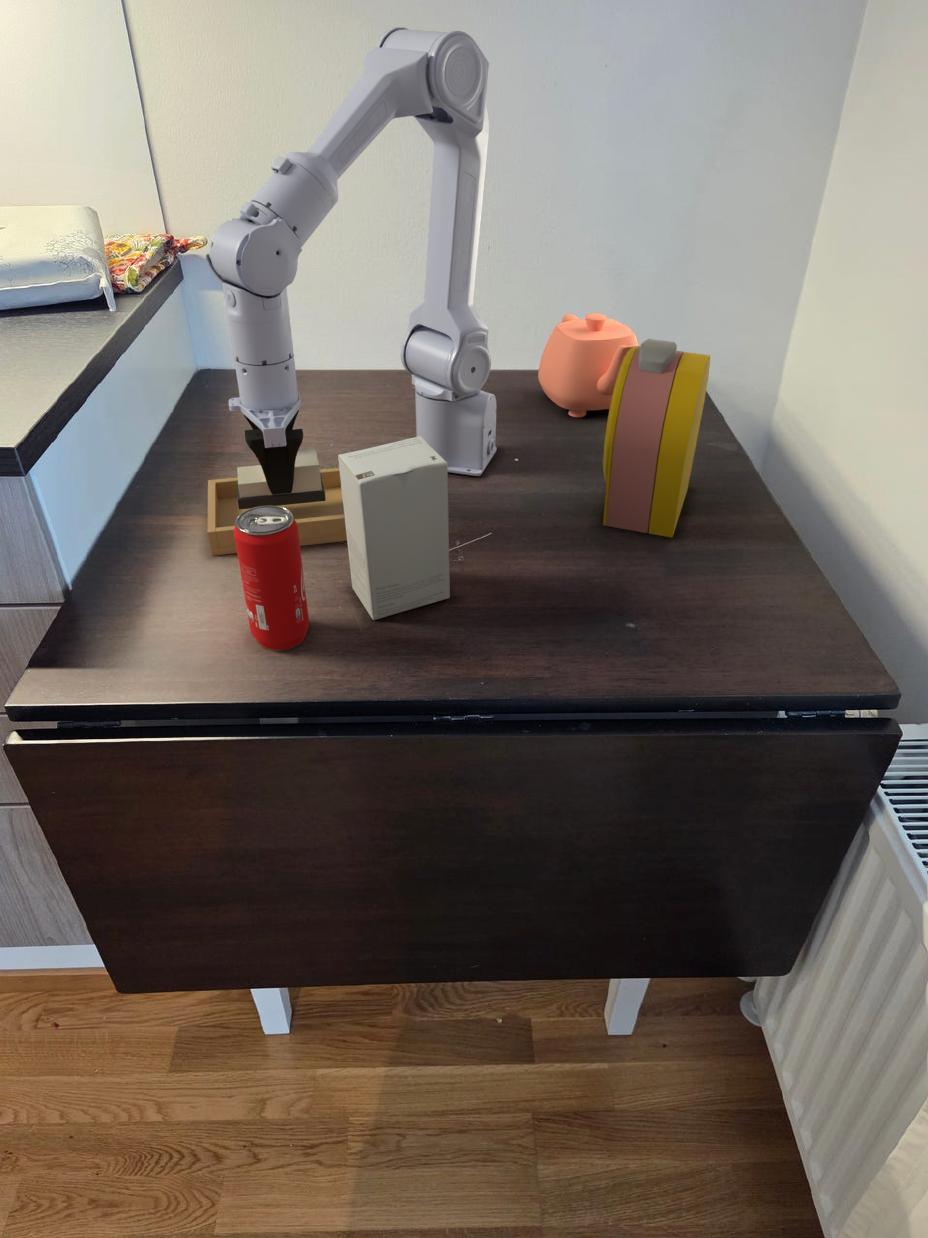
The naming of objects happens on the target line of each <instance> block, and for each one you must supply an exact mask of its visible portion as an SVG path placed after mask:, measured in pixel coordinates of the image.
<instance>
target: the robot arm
mask: <svg viewBox="0 0 928 1238" xmlns="http://www.w3.org/2000/svg"><path fill="white" fill-rule="evenodd" d="M489 73H490V61H489V60H488V59H487V58H486V55H485V54H484V53H483V50H481V48H480V46H479V45H478V44H477V42H476V41H475V40H474V38H473V37H472V36H471V35H470V34H468V33H467V32H465V31H462V30H449V31H435V30H419V29H408V28H406V27H403V26H397V27H396V26H395V27H392V28H390V29H388V30H387V31H385V32H384V33H383V34H382V35H381V36H380V38H379V39H378V41H377V43H376V46H374V47H373V48H370V50H369V51H368V52H367V53H366V54H365V55H364V60H363V66H362V70H361V73H360V75H359V76H358V78H357V80H355V82H354V83H353V85H352V86H351V88H350V89H349V91H348V92H347V93H346V95H345V97H344V98H343V100H342V101H341V102H340V104H339V105H338V107H337V108H336V110H335V111H334V113H333V114H332V116H331V117H330V118H329V120H328V121H327V123H326V124H325V126H324V127H323V129H322V130H321V132H320V133H319V135H317V137H316V139H315V140H314V142H313V143H312V145H311V146H310V147H309V149H308V151H305V152H304V151H302V152H301V151H290V152H289V153H288V154H287V155H286V156H285V157H283V156H277V157H276V159H275V160H274V161H273V162H272V164H271V165H270V169H271V170H272V171H273V172H272V173H271V174H270V176H269V177H268V178H267V180H266V181H265V182H264V183H263V185H262V186H261V187H260V189H259V190H258V191H257V192H256V193H255V195H254V196H253V197H252V199H251V200H250V201H249V202H248V201H245V202H244V203H243V204H242V205H241V207H240V208H239V213H240V214H239V218H238V217H237V218H236V217H235V218H231V220H229V219H227V220H226V221H224V222H222V223H221V224H220V225H219V226H218V227H217V228H216V230H215V231H214V233H213V235H212V237H211V240H210V242H211V243H210V246H209V252H208V253H206V254H205V260H206V263H207V266H208V268H209V270H210V272H211V273H212V274H213V275H214V276H215V277H216V278H217V279H218V280H219V281H220V284H221V286H222V292H223V297H224V300H225V308H226V314H227V322H228V327H229V333H230V334H229V335H230V342H231V349H232V353H233V361H234V368H235V374H236V381H237V387H238V394H239V395H238V396H239V397H231V398H229V399H228V409H229V411H230V412H232V413H242V414H243V417H244V418H245V419H246V421H247V422H248V424H249V425H250V428H251V429H245V430H244V439H245V443H246V444H247V447H248V448H249V449H250V450H251V451H252V453H253V454H254V455H255V457H256V459H257V461H258V463H259V465H261V467H262V470H263V473H264V476H265V479H266V482H267V484H268V487H269V489H270V491H271V493H272V495H276V494H286V493H292V489H293V482H294V468H295V460H296V456H297V452H298V450H299V449H300V447H301V445H302V444H303V440H304V431H303V428H296V429H294V425H295V422H296V419H297V418H298V414H299V413H300V412H299V411H300V408H301V407H302V399H301V395H300V394H299V390H298V381H297V380H298V379H297V371H296V361H295V353H294V345H293V336H292V335H293V334H292V326H291V318H290V317H291V316H290V307H289V306H290V305H289V299H288V298H289V297H288V288H287V287H288V286H289V285H292V284H293V282H294V280H295V278H296V276H297V272H298V264H299V263H298V261H299V256H300V254H301V253H302V252H303V246H304V245H305V244H306V243H307V241H308V240H309V238H310V237H311V236H312V235H313V234H314V233H315V231H316V230H317V228H319V226H320V225H321V223H322V222H323V221H324V220H325V218H326V217H327V216H328V214H329V213H330V212H331V211H332V210H333V208H334V207H335V205H336V204H337V203H338V202H339V187H338V180H339V179H340V178H341V177H342V176H343V175H344V174H345V172H346V171H347V170H348V169H349V168H350V167H351V166H352V164H354V162H355V161H356V160H357V159H358V158H359V157H360V156H361V154H363V152H364V151H365V150H366V149H367V148H368V147H369V146H370V144H372V142H373V141H374V140H375V139H376V138H377V136H379V134H381V132H382V131H383V130H384V129H385V128H386V127H387V126H388V124H389V123H390V122H391V121H392V120H394V119H400V118H406V117H413V118H414V119H415V120H416V121H417V123H418V124H419V125H420V126H421V128H422V129H423V131H424V132H425V133H426V134H427V136H428V137H429V138H430V139H431V141H432V142H433V158H432V172H431V173H432V174H431V189H430V203H429V217H428V218H429V219H428V232H427V233H428V234H427V235H428V236H427V251H426V262H425V263H426V264H425V265H426V266H425V281H424V294H423V295H424V296H423V301H422V302H421V304H419V305H418V306H416V307H415V308H414V309H413V310H412V311H411V312H410V313H409V315H408V326H407V330H406V333H405V335H404V337H403V340H402V342H401V343H402V344H401V346H400V347H401V348H400V360H401V364H402V366H403V368H404V369H405V371H406V372H407V373H408V374H409V375H411V385H413V386H414V389H415V390H414V391H415V392H414V395H415V397H414V399H415V427H416V428H415V430H416V431H415V432H416V433H415V434H416V436H415V437H418V436H421V437H422V438H423V439H424V440H425V441H426V442H427V443H428V444H429V445H430V446H431V447H432V448H433V449H434V450H435V451H436V452H437V453H438V454H439V455H440V456H441V457H442V458H443V459H444V460H445V461H446V462H447V463H448V468H447V473H452V474H459V475H465V476H473V477H480V476H481V475H482V474H483V472H484V471H485V469H486V467H487V466H488V464H489V463H490V462H491V460H492V458H493V457H494V455H495V454H496V452H497V448H498V447H497V446H496V439H497V437H496V436H497V435H496V434H497V398H496V395H495V394H494V393H490V392H487V391H484V390H482V388H483V387H484V386H485V384H486V382H487V380H488V378H489V375H490V373H491V368H492V357H491V356H492V355H491V352H490V349H489V328H488V326H487V324H486V323H485V321H484V320H483V319H482V317H481V315H480V314H479V313H478V311H477V310H476V308H475V306H474V298H475V297H474V296H475V286H476V276H477V265H478V255H479V244H480V236H481V235H480V234H481V223H482V222H481V220H482V214H483V213H482V211H483V201H484V192H485V180H486V169H487V161H488V160H487V159H488V148H489V137H490V118H489V112H488V105H487V94H488V91H487V90H488V81H489Z"/></svg>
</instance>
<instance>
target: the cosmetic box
mask: <svg viewBox="0 0 928 1238" xmlns="http://www.w3.org/2000/svg"><path fill="white" fill-rule="evenodd" d="M337 460H338V468H339V470H340V479H341V490H342V499H343V506H344V516H345V525H346V534H347V541H346V543H347V551H348V560H349V569H350V578H351V587H352V590H353V591H354V593H355V594H356V596H357V597H358V599H359V601H360V603H361V604H362V606H363V607H364V608H365V610H366V612H367V613H368V615H369V616H370V618H371V619H372V621H377V620H380V619H383V618H387V617H389V616H390V617H391V616H394V615H397V614H399V613H400V614H401V613H404V612H406V611H410V610H413V609H417V608H421V607H424V606H427V605H431V604H435V603H437V602H441V601H444V600H447V599H450V597H451V590H450V589H451V587H450V586H451V585H450V584H451V582H450V545H449V543H450V540H449V539H450V537H449V487H448V481H449V480H448V472H447V468H448V463H447V462H446V461H445V460H444V459H443V458H442V457H441V456H440V455H439V454H438V453H437V452H436V451H435V450H434V449H433V448H432V447H431V446H430V445H429V444H428V443H427V442H426V441H425V440H424V439H423V438H422V437H421V436H418V437H416V436H415V437H410V438H406V439H402V440H399V441H398V440H397V441H395V442H389V443H385V444H381V445H377V446H373V447H368V448H364V449H360V450H359V449H358V450H355V451H350V452H345V453H340V454H338V455H337Z"/></svg>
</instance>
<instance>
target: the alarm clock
mask: <svg viewBox="0 0 928 1238" xmlns="http://www.w3.org/2000/svg"><path fill="white" fill-rule="evenodd" d="M677 349H678V344H677V343H676V341H670V340H669V341H668V340H663V339H662V340H660V339H652V338H648V339H646V340H644V341H642V342H641V343H640V346H639V345H638V346H634V347H633V348H631V349H630V350H629V351H628V353H627V354H626V356H625V358H624V360H623V362H622V365H621V367H620V369H619V373H618V376H617V380H616V384H615V387H614V391H613V396H612V400H611V405H610V410H608V416H607V422H606V429H605V435H604V443H603V457H602V470H603V477H604V481H605V485H606V486H605V496H604V509H603V510H604V511H603V519H602V520H603V521H602V525H603V526H606V527H611V528H615V529H616V528H617V529H623V530H627V531H632V532H639V533H645V534H650V535H656V536H661V537H666V538H673V537H674V534H675V530H676V528H677V524H678V521H679V518H680V515H681V512H682V509H683V506H684V501H685V499H686V496H687V493H688V489H689V483H690V479H691V474H692V467H693V464H694V457H695V452H696V447H697V442H698V436H699V431H700V427H701V420H702V416H703V410H704V405H705V400H706V394H707V387H708V382H709V374H710V366H711V354H705V353H698V352H689V351H688V352H687V351H682V350H677Z"/></svg>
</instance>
